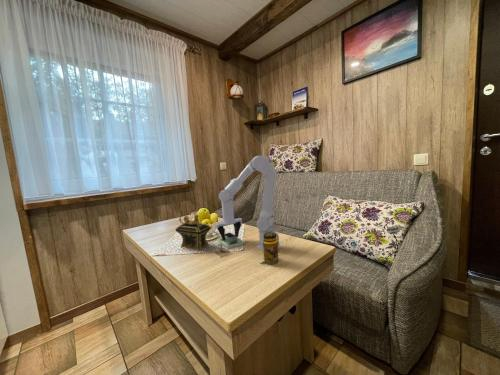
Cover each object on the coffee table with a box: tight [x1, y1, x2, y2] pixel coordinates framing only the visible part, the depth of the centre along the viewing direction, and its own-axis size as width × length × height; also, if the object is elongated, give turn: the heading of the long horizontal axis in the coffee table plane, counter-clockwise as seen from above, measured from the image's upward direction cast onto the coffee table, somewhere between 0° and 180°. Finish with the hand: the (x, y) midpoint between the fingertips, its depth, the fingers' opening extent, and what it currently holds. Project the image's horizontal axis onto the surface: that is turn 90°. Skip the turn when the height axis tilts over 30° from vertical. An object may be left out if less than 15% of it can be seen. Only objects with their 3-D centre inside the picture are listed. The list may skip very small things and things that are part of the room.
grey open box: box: [223, 232, 238, 245], centre depth 112 cm, size 9×4×4 cm, turn 33°
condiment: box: [259, 232, 283, 267], centre depth 89 cm, size 7×8×12 cm
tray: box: [216, 237, 246, 250], centre depth 112 cm, size 13×10×2 cm
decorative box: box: [175, 208, 212, 251], centre depth 112 cm, size 20×10×20 cm, turn 61°
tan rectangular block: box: [213, 243, 233, 259], centre depth 100 cm, size 9×6×4 cm, turn 33°
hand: (230, 238), depth 112 cm, fingers open, 7 cm apart
